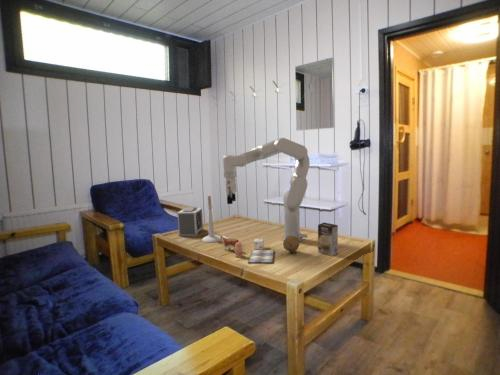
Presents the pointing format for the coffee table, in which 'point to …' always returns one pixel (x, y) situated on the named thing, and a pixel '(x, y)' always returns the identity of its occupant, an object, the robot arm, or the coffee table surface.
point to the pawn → (238, 250)
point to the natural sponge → (291, 243)
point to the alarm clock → (190, 221)
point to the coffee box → (328, 238)
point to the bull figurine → (229, 241)
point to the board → (261, 256)
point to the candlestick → (211, 227)
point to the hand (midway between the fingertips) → (231, 202)
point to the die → (258, 244)
